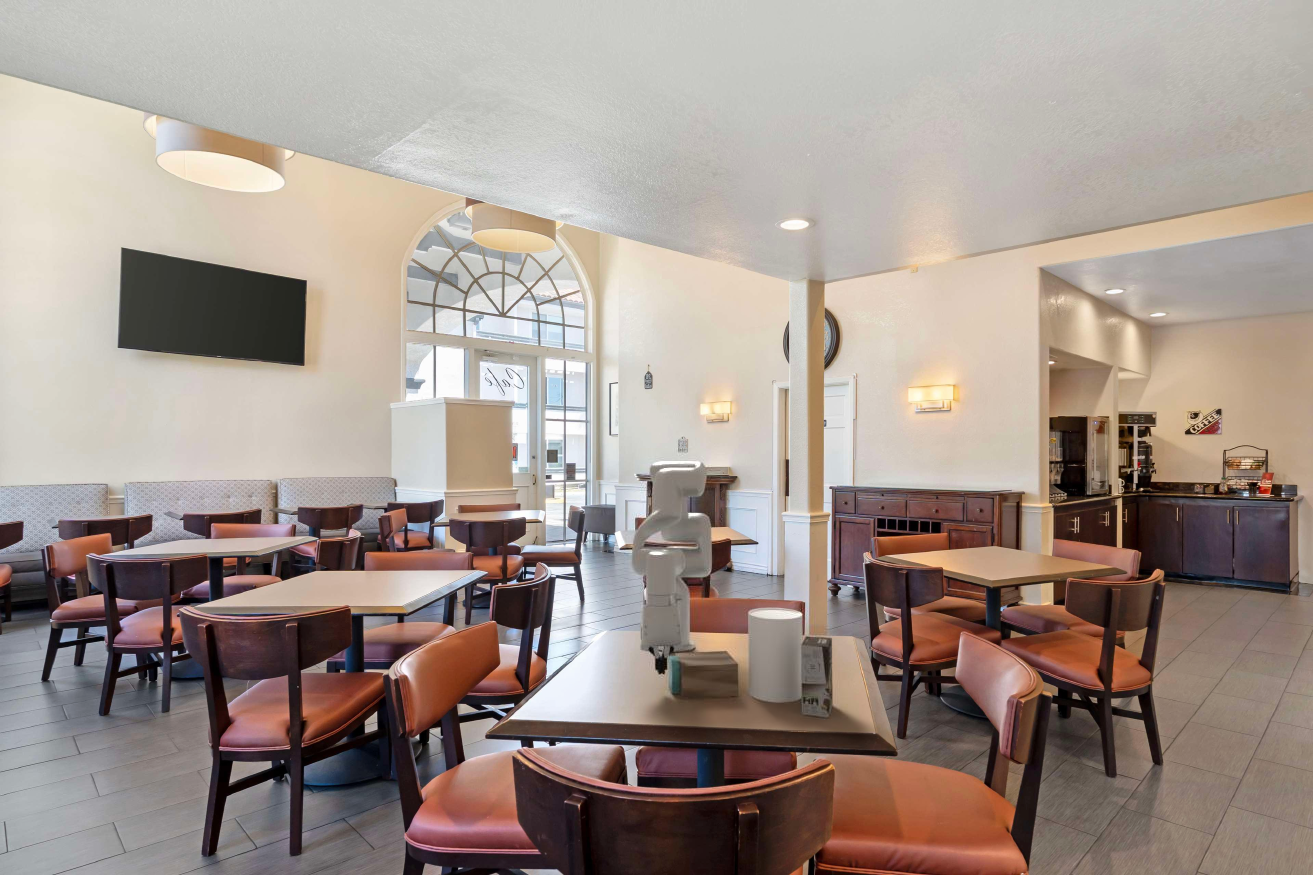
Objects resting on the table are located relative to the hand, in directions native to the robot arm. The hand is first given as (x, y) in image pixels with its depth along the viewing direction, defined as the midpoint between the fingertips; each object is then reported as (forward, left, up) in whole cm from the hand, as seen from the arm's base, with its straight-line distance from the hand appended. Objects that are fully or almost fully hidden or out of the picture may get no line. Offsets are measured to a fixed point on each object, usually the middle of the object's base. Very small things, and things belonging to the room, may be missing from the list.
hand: (661, 672), depth 175 cm
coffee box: (+18, +35, -5) cm, 39 cm away
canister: (+5, +29, -5) cm, 29 cm away
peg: (0, +9, -5) cm, 10 cm away
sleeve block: (0, +12, -5) cm, 12 cm away
